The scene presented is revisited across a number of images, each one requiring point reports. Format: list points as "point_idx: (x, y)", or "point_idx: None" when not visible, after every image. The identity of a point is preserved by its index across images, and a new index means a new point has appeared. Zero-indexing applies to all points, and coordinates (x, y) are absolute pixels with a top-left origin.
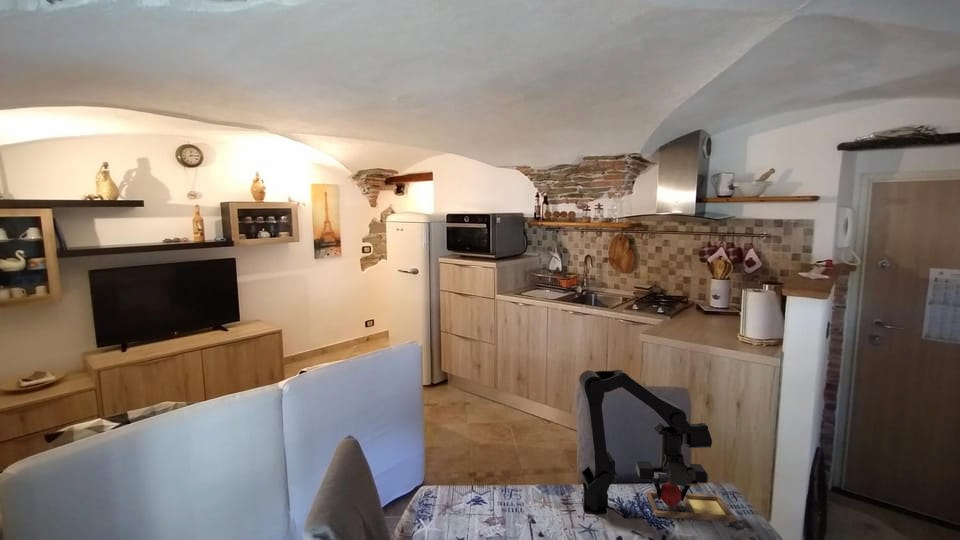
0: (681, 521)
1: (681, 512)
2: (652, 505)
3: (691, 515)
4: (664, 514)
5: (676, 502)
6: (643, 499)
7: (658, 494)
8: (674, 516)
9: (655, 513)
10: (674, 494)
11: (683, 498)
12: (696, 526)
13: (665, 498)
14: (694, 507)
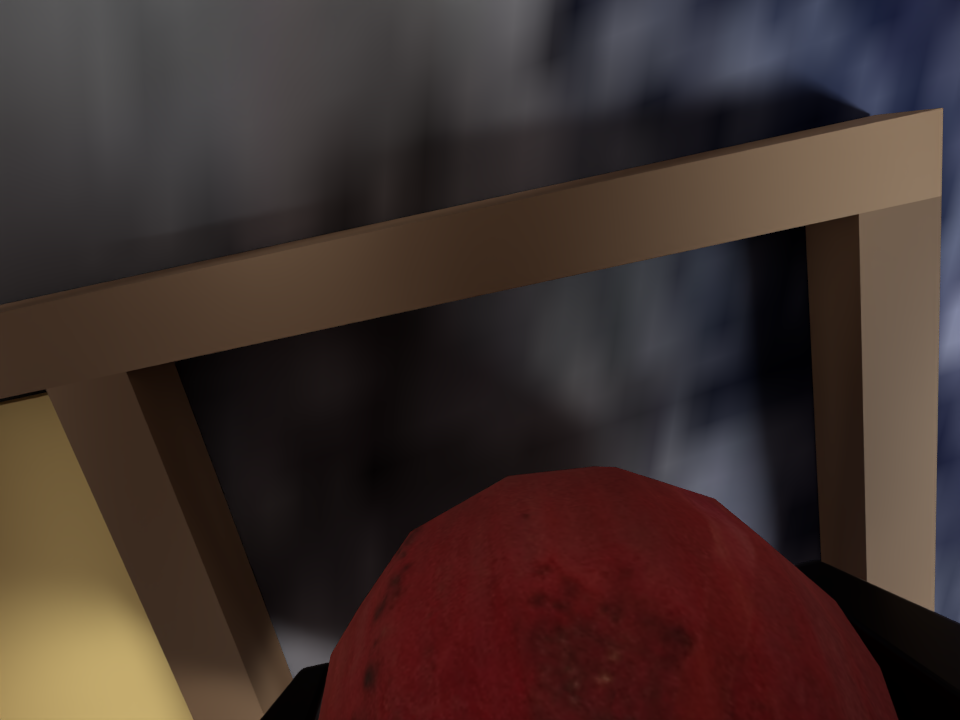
0: (363, 106)
1: (347, 303)
2: (935, 379)
3: (134, 284)
4: (717, 155)
5: (449, 514)
6: (957, 604)
7: (944, 629)
8: (498, 201)
9: (919, 112)
10: (536, 671)
11: (268, 717)
12: (51, 6)
13: (753, 534)
14: (125, 642)
